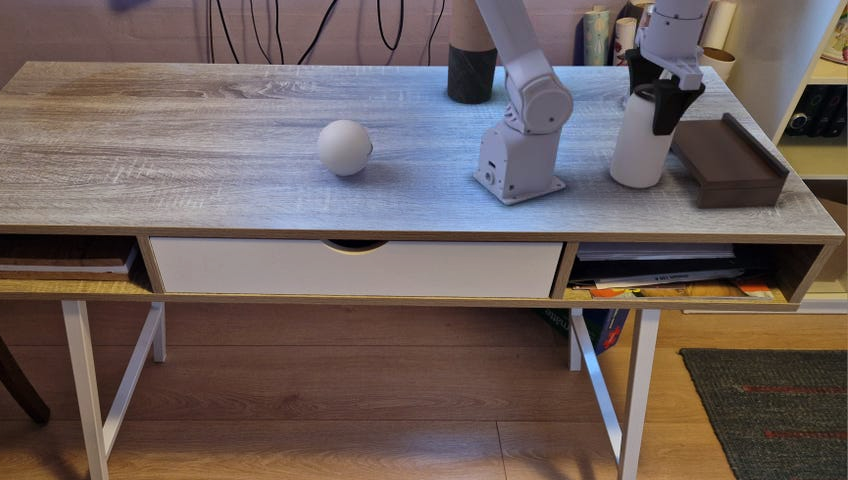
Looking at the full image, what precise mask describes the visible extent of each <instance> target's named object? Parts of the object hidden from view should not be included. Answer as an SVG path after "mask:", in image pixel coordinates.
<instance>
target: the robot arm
mask: <svg viewBox="0 0 848 480" xmlns="http://www.w3.org/2000/svg"><path fill="white" fill-rule="evenodd" d="M475 1H476V3H477V5H478V8H479V10H480V12H481V14H482V17H483V19H484V21H485V23H486V26H487V28H488V30H489V32H490V35H491V37H492V39H493V41H494V44H495V46H496V48H497V50H498V55H499V58H500V62H501V64H502V67H503V69H504V79H503V86H504V91H505V92H506V94H507V96H508V97H509V98H510V101H509V102H508V105H507V107H506V109H505V111H504V115H503V117H502V119H501V120H500V121H499V122H498V123H497V124H495V125H494V126H492V127H490V128H488V129H486V130H485V131H484V132H483V133H482V136H481V139H480V147H479V154H478V155H479V156H478V164H477V165H478V166H477V172H474V173H473V178H474V179H475V180H476V181H478V182H479V183H480V184H481V185H482V186H483V187H484V188H486V190H488V191H489V192H490V193H492V195H494V196H495V197H496V198H497V199H499V200H500V201H501V202H502V203H503V204H504V205H507V206H509V205H514V204H517V203H520V202H523V201H527V200H530V199H533V198H536V197H541V196H543V195H547V194H550V193H554V192H557V191H560V190H563V189H566V187H567V185H566V183H565V182H564V181H562V180H561V179H560V178H559V177H557V176H555V175H554V171H555V166H556V162H557V157H558V156H557V155H558V151H559V146H560V145H559V144H560V139H561V134H562V131H563V126H564V125H565V124H566V123H567V122H568V121H569V120H570V118H571V116H572V114H573V112H574V107H575V105H574V104H575V103H574V98H573V94H572V93H571V91H570V90H569V89H568V88H567V87H566V86H565V85H564V84H563V82H562V81H561V79H560V78H559V76H558V75H557V73H556V72H555V70H554V67H553V65H552V63H551V62H550V61H549V60H548V59H547V56H546V55H545V52H544V50H543V48H542V46H541V44H540V41H539V39H538V36H537V34H536V31H535V28H534V26H533V24H532V21H531V19H530V16H529V14H528V11H527V9H526V6H525V3H524V1H523V0H475ZM710 1H711V0H654V2H653V4H654V6H653V10H652V14H651V18H650V22H649V26H648V27H639V26H638V27H639V28H638V27H637V30H638V31H636V34H637V35H636V34H635V38H636V39H634V43H636V44H637V45H639V47H637V48H636V49H634V48H627V49H626V50H624V57H625V60H626V64H627V68H628V76H629V87H630V96H631V95H632V94H633V93H634V92H633V90H634V88H635V87H637V86H639V85H642V84H653V86H654V90H655V113H654V119H653V126H652V131H653V134H654V136H666V135H671V133H672V132H673V130H674V129H675V127H676V125H677V124H678V122H679V121H681V119H682V118H683V116H684V114H685V113H686V112H687V110H688V109H689V108H690V107H691V106H692V105H693V103H694V102H696V100H698V99H699V98H700V97H701V96H702V95H703V94H704V93H705V92H706V89H707V85H706V84H705V83H704V82H702V81H703V77H704V74H705V73H704V72H703V71H702V70H701V68H700V64H699V59H698V57H703V56H704V52H705V50H704V48H702V46H700V45H698V42H699V39H700V36H701V31H702V29H703V25H704V21H705V18H706V15H707V11H708V8H709V4H710ZM664 69H667V70H668V71H669V72H670V73H671V74H672V76H671V78H670V79H659V78H660V76H661V74H662V72H663V71H664Z"/></svg>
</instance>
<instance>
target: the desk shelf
mask: <svg viewBox="0 0 848 480" xmlns="http://www.w3.org/2000/svg"><path fill="white" fill-rule="evenodd" d="M669 151H673V152H674V154H675V155H676V157H678V159H679V160H680V161H681V163H683V164H684V166H685V167H686V168H687V169H688V171H689V172H690V173H691V174H692V175H693V177H694V178H695V179H696V180H697V181H698V183H699V184H700V187H699V189H698V190H699V191H698V193H697V195H696V199H695V202H694V204H695V206H696V208H697V209H698V210H699V209H717V208H718V209H723V208H724V209H725V208H742V207H743V208H746V207H766V206H767V207H770V206H776V205H777V203H778V200H779V198H780V195H781V194H782V193H781V192H782V191H783V188H784V186H785V184H786V181H787V179H788V177H789V175H790V172H791V171H790V170H789V168H787V167H786V166H785V164H783V163H782V162H781V161H780V160H779V159H778V158H777V157H776V156H775V155H774V154H773V153H772V152H771V151H770V150H768V148H767V147H765V146H764V144H762V143H761V142H760V141H759V140H758V139H757V138H756V137H755V136H754V135H753V134H752V133H751V132H750V131H749V130H748V129H747V128H746V127H745V126H744V125H743V124H741V122H740V121H738V119H737V118H736V117H734V115H732V114H731V113H730V112H723V113H722V115H721V118H716V119H714V118H713V119H691V120H690V119H689V120H688V119H687V120H679V122H678V124H677V125H676V128H675V132H674V135H673V138H672V141H671V145H670V148H669Z"/></svg>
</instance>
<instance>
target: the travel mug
mask: <svg viewBox="0 0 848 480" xmlns="http://www.w3.org/2000/svg"><path fill="white" fill-rule="evenodd" d="M451 2H452V3H451V16H450V25H449V26H450V27H449V37H448V38H449V39H448V62H447V63H448V64H447V85H446V86H447V90H446V91H447V92H446V93H447V96H448V98H449V99H450V100H451V101H454V102H455V103H456V102H457V103H460V104H465V105H466V104H467V105H475V104H476V105H479V104H483V103H485V102H487V101H489V100H491V99H490V98H491V97H492V92H493V86H494V80H495V72H496V68H497V67H496V66H497V61H498V55H499V53H498V50H497V48H496V46H495V44H494V41H493V39H492V37H491V35H490V32H489V30H488V28H487V26H486V23H485V21H484V19H483V17H482V14H481V12H480V10H479V8H478V5H477V3H476V1H475V0H452V1H451Z"/></svg>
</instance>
